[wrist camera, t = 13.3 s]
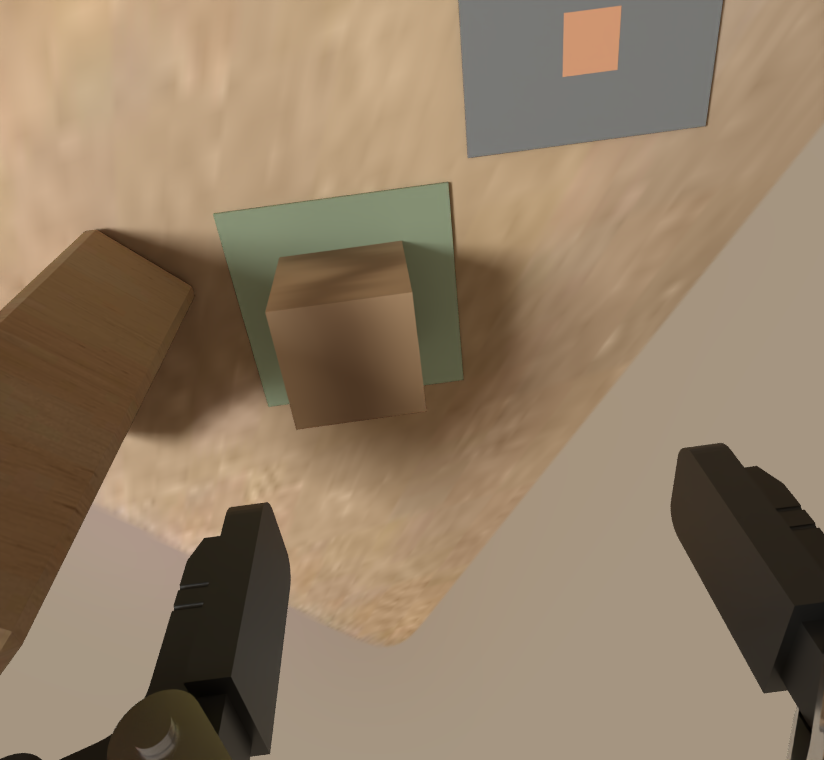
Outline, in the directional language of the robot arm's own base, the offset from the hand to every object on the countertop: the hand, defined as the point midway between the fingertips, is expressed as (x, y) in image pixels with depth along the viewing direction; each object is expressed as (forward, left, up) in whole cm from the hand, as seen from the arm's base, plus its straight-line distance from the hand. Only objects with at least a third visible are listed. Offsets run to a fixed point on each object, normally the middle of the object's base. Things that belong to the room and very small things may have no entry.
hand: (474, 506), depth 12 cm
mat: (+3, +5, -20) cm, 21 cm away
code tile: (-9, -7, -20) cm, 23 cm away
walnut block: (+3, +5, -20) cm, 21 cm away
